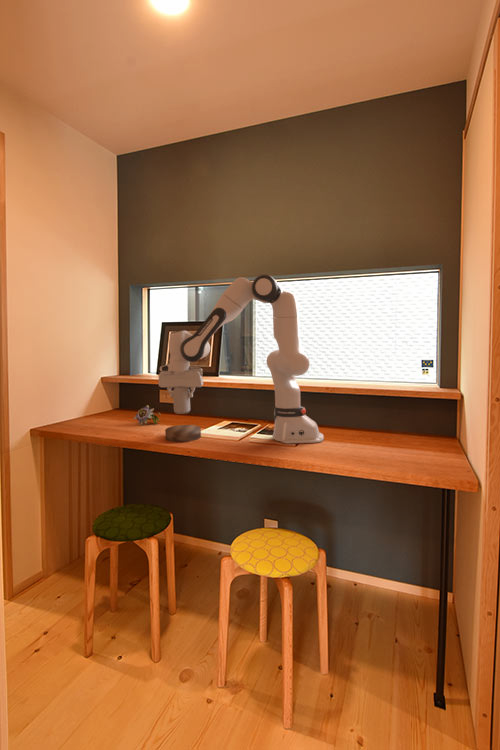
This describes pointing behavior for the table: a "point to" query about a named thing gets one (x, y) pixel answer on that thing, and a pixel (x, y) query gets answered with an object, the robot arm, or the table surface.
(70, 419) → the table surface
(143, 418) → the passion flower
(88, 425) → the table surface
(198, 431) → the plinth
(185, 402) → the can
